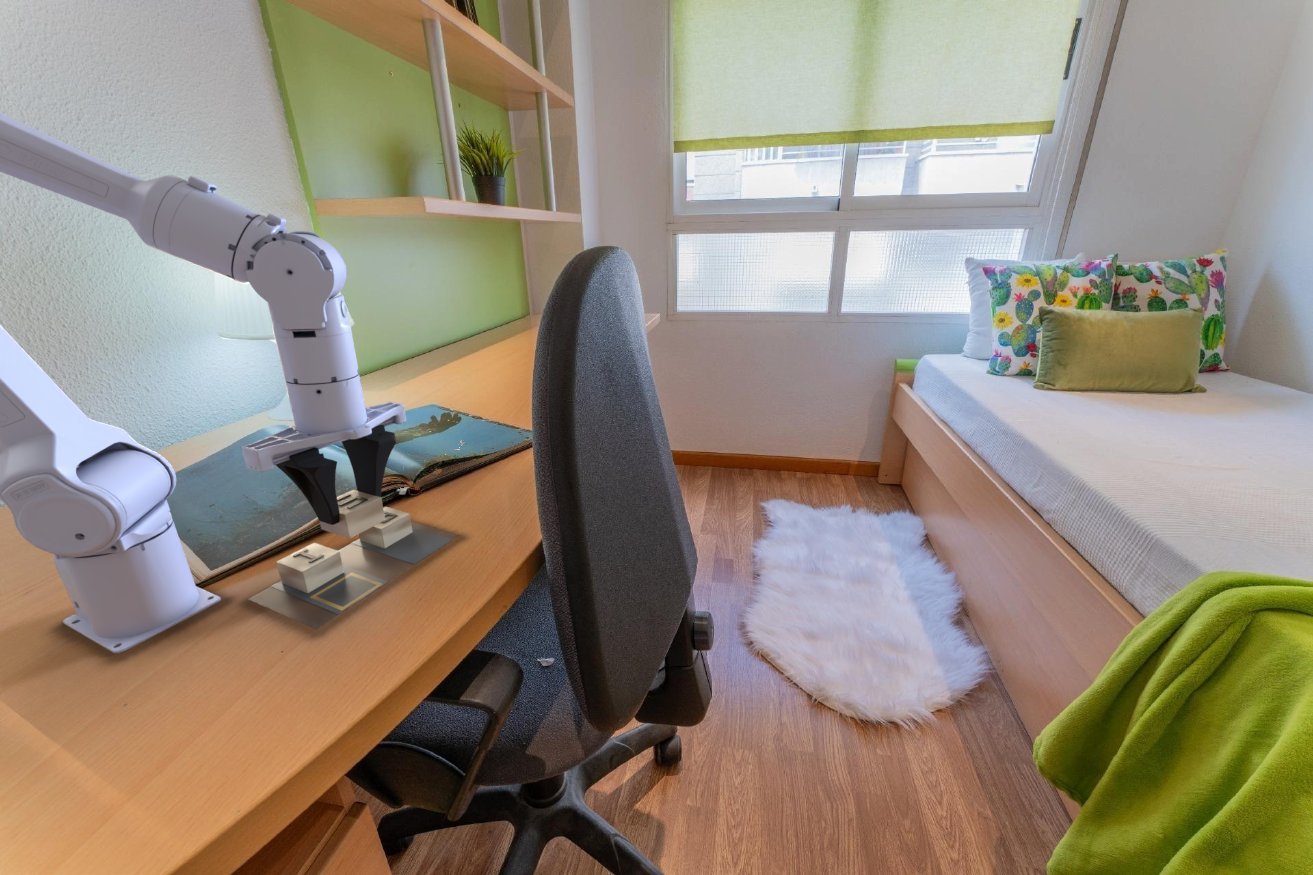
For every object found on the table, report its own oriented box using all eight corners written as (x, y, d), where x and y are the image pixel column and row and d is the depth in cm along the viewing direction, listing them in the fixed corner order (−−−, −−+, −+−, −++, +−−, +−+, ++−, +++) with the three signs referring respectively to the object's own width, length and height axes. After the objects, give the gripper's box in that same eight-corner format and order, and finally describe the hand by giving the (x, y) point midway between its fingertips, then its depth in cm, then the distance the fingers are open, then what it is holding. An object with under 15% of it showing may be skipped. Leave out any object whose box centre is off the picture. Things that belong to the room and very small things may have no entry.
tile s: (321, 529, 51) (315, 504, 50) (357, 511, 54) (353, 488, 53) (349, 538, 49) (344, 513, 48) (385, 520, 53) (381, 496, 52)
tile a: (360, 540, 61) (355, 520, 60) (388, 525, 64) (385, 505, 63) (384, 548, 59) (380, 528, 58) (412, 532, 63) (409, 512, 62)
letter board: (248, 602, 51) (247, 598, 51) (399, 519, 66) (399, 516, 66) (316, 632, 47) (315, 628, 47) (460, 538, 63) (459, 534, 62)
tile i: (281, 583, 53) (275, 560, 52) (319, 562, 57) (313, 541, 56) (307, 593, 52) (301, 570, 51) (344, 572, 55) (339, 550, 54)
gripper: (267, 403, 39) (305, 558, 43) (420, 366, 51) (437, 489, 56) (210, 391, 41) (252, 539, 46) (369, 358, 54) (389, 477, 59)
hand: (350, 511), depth 51 cm, fingers closed on tile s, 4 cm apart
